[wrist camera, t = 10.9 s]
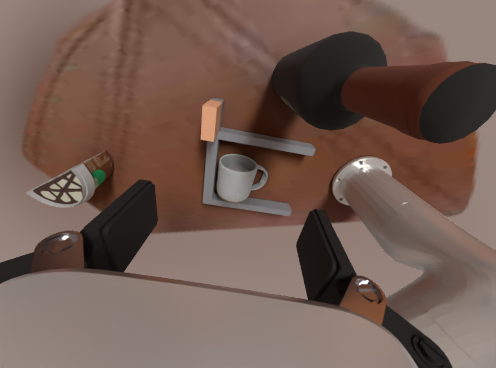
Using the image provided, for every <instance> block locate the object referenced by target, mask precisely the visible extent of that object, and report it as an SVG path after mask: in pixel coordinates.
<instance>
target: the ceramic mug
mask: <svg viewBox="0 0 496 368" xmlns="http://www.w3.org/2000/svg"><path fill="white" fill-rule="evenodd" d="M257 169H260V170H262V171H263V175H262V178H261V180H260V182H259V183H257V184H255V185H252V184H253V181H254V178H255V175H256V172H257ZM267 177H268V174H267V172H266V170H265V169H264V168H263V167H262V166H260V165H257V163H256V162H255V161H254V160H252V159H251V158H249V157H247V156H243V155H239V154H227V155H224V156H222V157H221V158H220V160H219V169H218V179H217V192H218V195H219V196H220V197H221V198H222V199H223V200H225V201H227V202H231V203H239V202H242V201H244V200H246V199H247V197H248V196H249V194H250V192H251V191H252V190H257V189H259V188H261V187H262V186H263V185H264V184H265V182H266V180H267Z"/></svg>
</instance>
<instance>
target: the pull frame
mask: <svg viewBox="0 0 496 368" xmlns="http://www.w3.org/2000/svg"><path fill="white" fill-rule="evenodd" d="M223 106H224V100H223V99H218V98H212V99H211V100H209V101H208V102H207V103H205V104H204V105H203V108H202V126H201V140H206V141H207V151H206V164H205V178H204V191H203V203H204V204H210V205H217V206H224V207H231V208H237V209H244V210H251V211H257V212H264V213H271V214H278V215H284V216H290V214H291V208H290V205H289V204H288V203H282V202H275V201H269V200H262V199H256V198H250V197H247V199H246V200H244V201H242V202H239V203H231V202H227V201H225V200H223V199H222V198H221V197H220V196H219V195H218V193H217V192H214V189H215V179H216V170H217V161H218V152H219V143H220V140H225V141H231V142H236V143H242V144H247V145H253V146H259V147H264V148H270V149H275V150H281V151H286V152H292V153H297V154H303V155H308V156H313V155H314V152H315V150H316V149H315V148H314V147H313V145H312V144H309V143H304V142H298V141H293V140H288V139H282V138H277V137H272V136H266V135H261V134H256V133H250V132H245V131H239V130H234V129H229V128H223V127H221V125H222V115H223Z"/></svg>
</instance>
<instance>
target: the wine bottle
mask: <svg viewBox="0 0 496 368" xmlns="http://www.w3.org/2000/svg"><path fill="white" fill-rule="evenodd" d="M272 83H273V88H274V91H275V93H276V94H277V96H278V97H279V98H280V99H281V100H282V101H283V102H284V103H286V104H287V105H288V106H289V107H290V108H291V109H292V110H293V111H295V112H296V113H297V114H298V115H299V116H300V117H301V118H302V119H304V120H305V121H306V122H307V123H309V124H311V125H312V126H314V127H316V128H319V129H325V130H338V129H344V128H346V127H348V126H351V125H353V124H355V123H357V122H358V121H359V120H361V119H362V118H363V117H368V118H371V119H373V120H376V121H378V122H381V123H383V124H386V125H388V126H391V127H394V128H396V129H397V130H399V131H400V132H402V133H404V134H407V135H409V136H412V137H414V138H417V139H422V140H427V141H430V142H434V143H440V144H441V143H448V142H453V141H456V140H458V139H461V138H464V137H466V136H467V135H469V134H470V133H472V132H474V131H475V130H477V129H478V128H479V127H480V126H481V125H483V124H484V123H485V122H486V121H487V120H488V119H489V118H490V117H491V115H492V114H493V113H494V112H495V110H496V65H492V64H487V63H473V62H468V61H464V62H463V61H462V62H443V63H437V64H431V65H413V66H387V60H386V55H385V53H384V51H383V49H382V47H381V45H380V44H379V43H378V42H377V41H376V40H374V39H373V38H372V37H370V36H369V35H367V34H362V33H357V32H350V31H349V32H344V33H339V34H334V35H332V36H329V37H327V38H325V39H322V40H320V41H318V42H315V43H313V44H311V45H309V46H306V47H304V48H302V49H299V50H297V51H295V52H293V53H290V54H288V55H287V56H285V57H283V58H282V59H281V60H280V61H279V63H278V64H277V66H276V68H275V70H274V72H273V77H272Z"/></svg>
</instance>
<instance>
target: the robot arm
mask: <svg viewBox="0 0 496 368" xmlns="http://www.w3.org/2000/svg"><path fill="white" fill-rule="evenodd" d="M332 193H333V195H334V196H335V198H336V199H337V200H338V201H339V202H340V203H342V204H344V205H348V206H351V208H352V209H353V210H354V212H355V213H356V214H357V216H358V217H359V218H360V220H361V221H362V222H363V224H364V225H365V226H366V228H367V229H368V230H369V232H370V233H371V234H372V236H373V237H374V238H375V240H376V241H377V242H378V244H379V245H380V246H381V248H382V249H383V250H384V251H385V253H386V254H387V255H388V256H390V257H391V258H392V259H394V260H395V261H397V262H399V263H401V264H403V265H406V266H409V267H412V268H416V269H419V270H422V271H424V272H423V274H422V275H421V276H420V277H418V278H417V279H416V280H414V281H413V282H412V283H410V284H408V285H407V286H405V287H403V288H401V289H400V290H398V291H396V292H395V293H393V294H391V295H389V296H388V297H387V298H386V296H385V294H384V292H383V291H382V289H381V288H380V287H379V286H378V285H377V284H376V283H375V282H373V281H372V280H371V279H369V278H367V277H364V276H358V275H356V273H355V271H354V269H353V267H352V265H351V263H350V261H349V259H348V257H347V254H346V252H345V251H344V248H343V247H342V244H341V242H340V240H339V238H338V237H337V235H336V233H335V231H334V229H333V227H332V225H331V223H330V221H329V219H328V217H327V215H326V213H325V211H322V210H317V209H314V210H313V211H310V213H309V215H308V217H307V220H306V222H305V224H304V227H303V229H302V232H301V234H300V236H299V239H298V241H297V245H296V247H297V252H298V257H299V261H300V266H301V270H302V275H303V279H304V283H305V288H306V292H307V297H308V300H305V299H300V298H294V297H288V296H281V295H274V294H267V293H262V292H255V291H249V290H242V289H235V288H228V287H222V286H215V285H209V284H202V283H195V282H188V281H181V280H174V279H168V278H161V277H153V276H147V275H140V274H132V273H124V271H125V269H126V268H127V266H128V265H129V264H130V262H131V261H132V259H133V258H134V256H135V255H136V253H137V252H138V251H139V249H140V248H141V246H142V245H143V243H144V242H145V240H146V239H147V237H148V236H149V235H150V233H151V232H152V230H153V229H154V227H155V226H156V224H157V221H158V217H157V206H156V195H155V185H154V184H152V182H151V181H147V180H141V179H140V180H138V181H137V182H136V183H135V184H134V185H132V186H131V187H130V188H129V189H128V190H127V191H125V192H124V193H123V194H122V195H121V196H120V197H119V198H117V199H116V200H115V201H114V202H113V203H112V204H110V205H109V206H108V207H107V208H106V209H105V210H103V211H102V212H101V213H100V214H99V215H98V216H97V217H95V218H94V219H93V220H92V221H91V222H90V223H88V224H87V225H86V226H85V227H84V229H83V230H81V231H80V232H77V231H62V232H58V233H55V234H52V235H50V236H48V237H46V238H45V239H43V240H42V241H40V242H39V243H38V244H37V245H36V247H35V249H34V252H33V253H30V254H26V255H23V256H20V257H17V258H14V259H11V260H7V261H4V262H1V263H0V368H496V250H495V249H493V248H492V247H490V246H489V245H487V244H485V243H484V242H482V241H480V240H479V239H477V238H476V237H474V236H473V235H471V234H469V233H468V232H467V231H465V230H464V229H462V228H461V227H459V226H458V225H456V224H455V223H454V222H452V221H450V220H449V219H448V218H447V217H445V216H444V215H443V214H441V213H440V212H439V211H437V210H436V209H434V208H433V207H432V206H430V205H429V204H428V203H426V202H425V201H424V200H422V199H421V198H420V197H418V196H417V195H415V194H414V193H413V192H411V191H410V190H409V189H407V188H406V187H405V186H403V185H402V184H401V183H399V182H398V181H397V180H395V179H394V178H393V177H392V172H391V168H390V166H389V165H388V164H387V163H386V162H385V161H383V160H382V159H380V158H377V157H372V156H365V157H360V158H357V159H354V160H352V161H350V162H348V163H347V164H345V165H344V166H343V167H342V168H341V169H339V171H338V172H337V173H336V175H335V177H334V178H333V181H332Z"/></svg>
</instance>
